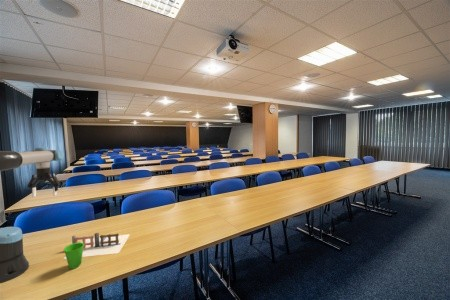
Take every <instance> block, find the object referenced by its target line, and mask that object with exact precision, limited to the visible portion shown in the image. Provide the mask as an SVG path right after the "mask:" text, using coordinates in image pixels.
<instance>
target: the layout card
mask: <svg viewBox="0 0 450 300" xmlns="http://www.w3.org/2000/svg"><path fill="white" fill-rule="evenodd" d="M130 235H131V233H129V234H128V233H127V234H119V236H118V240H119V242H118V245H116V243H111V245H108V243H107V244H104V245H103V246H101V244H100V242H101V238H100V236H99V247H95V237H94V238H93V242H94V246H93V247H91V245H86V247H85V248H83V253H82V258H85V257H94V256H103V255H106V256H107V255H113V254H119V253H120V252H121V250H122V249H123V247H124V245H125V243H127V240H128V239H129V238H130ZM85 240H86V243H90V239H85ZM114 240H116V236H115V237H111V241H114ZM103 241H108V237H104V238H103ZM80 242H82V243H83V240H82V241H81V240H80ZM62 259H63V260H67V258H66V256H64V257H63V258H62Z"/></svg>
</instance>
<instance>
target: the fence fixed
mask: <svg viewBox="0 0 450 300" xmlns="http://www.w3.org/2000/svg"><path fill="white" fill-rule="evenodd" d="M119 235H120V234H119V233H115V234H114V233H113V234H111V233H109V234H101V235H100V233H99V232H96V233H94V235H93V236H94V238H95V247H99V237H100V238H101V242H100V244H101V246H103V245H104V244H107V243H108V245H111V243H116V245H118V242H119V240H118V236H119ZM115 236H116V240H114V241H111V237H115ZM104 237H108V241H103V238H104Z"/></svg>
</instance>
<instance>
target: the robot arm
mask: <svg viewBox="0 0 450 300" xmlns="http://www.w3.org/2000/svg"><path fill="white" fill-rule="evenodd" d="M64 157H65V153H64V150H60V149H55V150H54V149H50V148H49V147H47V146H38V147H37V146H36V147H35V148H34V149H33V150H32V149H31V150H24V151H22V152H18V151H15V150H10V151H9V150H6V151H4V150H0V172H3V171H8V170H12V169H13V170H14V169H17V168H20V167H22V166H27V165H32V164H33V165H34V164H35V168H36V169H35V170H36V173H35V174H32V175H31V178H30V180H29V182H28V183H27V186H26V187H27V188H30V192H31V193H32V195H31V196H32V198H34V197H36V196H37V185H38V184H39V182H41V181H47V182H49V183H50V184H51V185H52V186H53V187H52V193H53V194H52V195H53V197H54V196H57V195H58V190H59V186H61V182H60V181H59V179H58V177H57V176H56V173H51V163H50V162H55V161H56V162H57V161H63V159H64ZM23 237H24V235H23V231H22V229H21V228H20V227H18V226H6V227H0V283H4V282H8V281H10V280H12V279H15V278H17V277H18V276H21V275H23V274H25V272H26V271H28V269H29V267H30V262H29V260H27V257H26V256H25V254H24V242H23V241H24V239H23Z"/></svg>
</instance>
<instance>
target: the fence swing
mask: <svg viewBox="0 0 450 300" xmlns="http://www.w3.org/2000/svg"><path fill="white" fill-rule="evenodd" d="M93 238H95V236H94V235H90V236H89V235H87V236H84V235H83V236H76V235H72V236H71V244H73V243H79V240H80V241H81V240H82V241H83V243H84V246H83V248H85V247H86V245H91V247H93V246H94V242H93ZM85 239H90V243H86V240H85Z"/></svg>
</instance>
